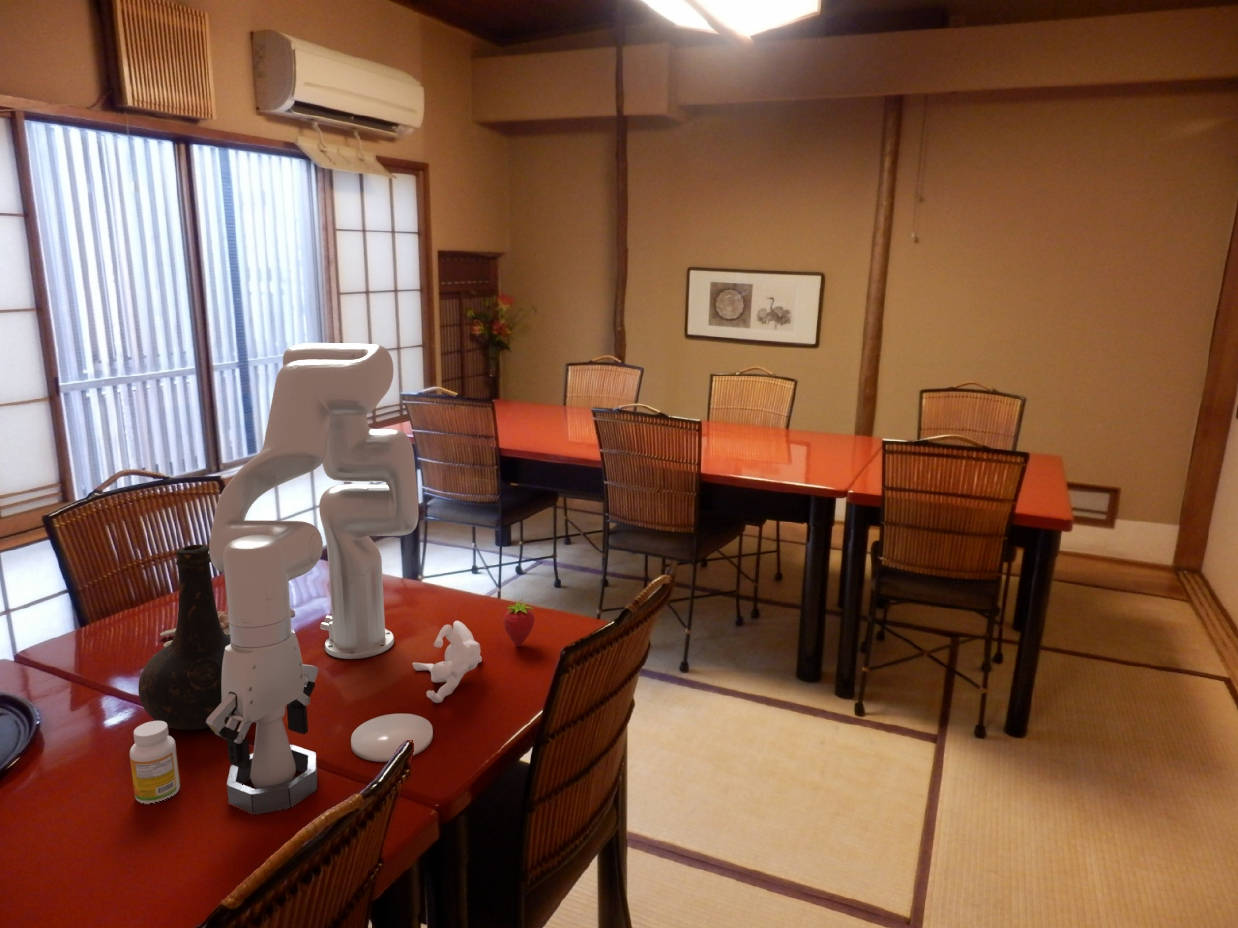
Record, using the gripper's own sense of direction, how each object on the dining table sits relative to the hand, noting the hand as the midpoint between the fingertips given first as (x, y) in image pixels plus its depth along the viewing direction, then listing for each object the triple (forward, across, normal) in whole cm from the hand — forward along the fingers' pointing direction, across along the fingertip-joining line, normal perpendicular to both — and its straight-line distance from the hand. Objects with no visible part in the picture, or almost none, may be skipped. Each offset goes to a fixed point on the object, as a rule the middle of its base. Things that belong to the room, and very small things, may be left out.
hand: (270, 747), depth 112 cm
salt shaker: (+6, 0, 0) cm, 6 cm away
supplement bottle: (+6, +8, -13) cm, 17 cm away
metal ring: (+6, 0, 0) cm, 6 cm away
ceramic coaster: (+6, -17, +6) cm, 19 cm away
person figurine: (+6, -36, +3) cm, 37 cm away
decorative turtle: (+6, -30, -51) cm, 60 cm away
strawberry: (+6, -54, +5) cm, 55 cm away
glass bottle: (+6, -9, -25) cm, 28 cm away
